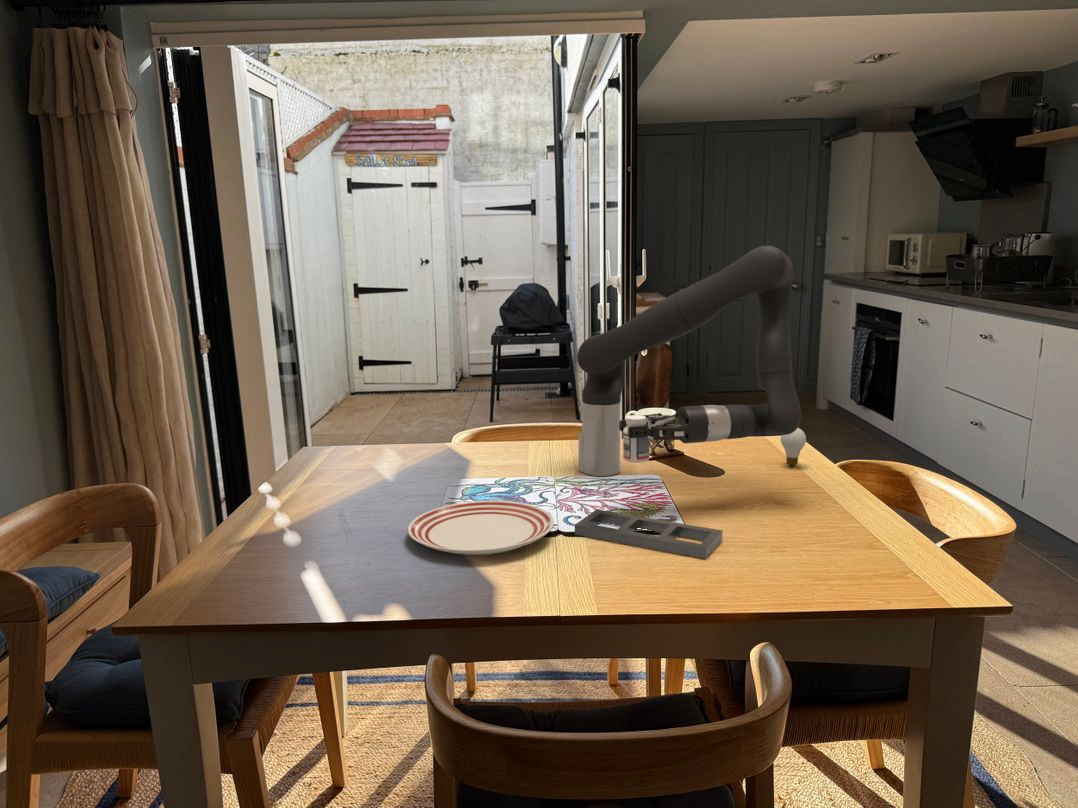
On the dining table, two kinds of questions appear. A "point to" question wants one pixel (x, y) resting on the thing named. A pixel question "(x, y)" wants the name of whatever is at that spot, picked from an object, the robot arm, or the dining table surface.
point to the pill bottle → (635, 441)
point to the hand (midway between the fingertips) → (624, 429)
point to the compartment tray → (660, 543)
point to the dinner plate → (481, 527)
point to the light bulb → (793, 446)
